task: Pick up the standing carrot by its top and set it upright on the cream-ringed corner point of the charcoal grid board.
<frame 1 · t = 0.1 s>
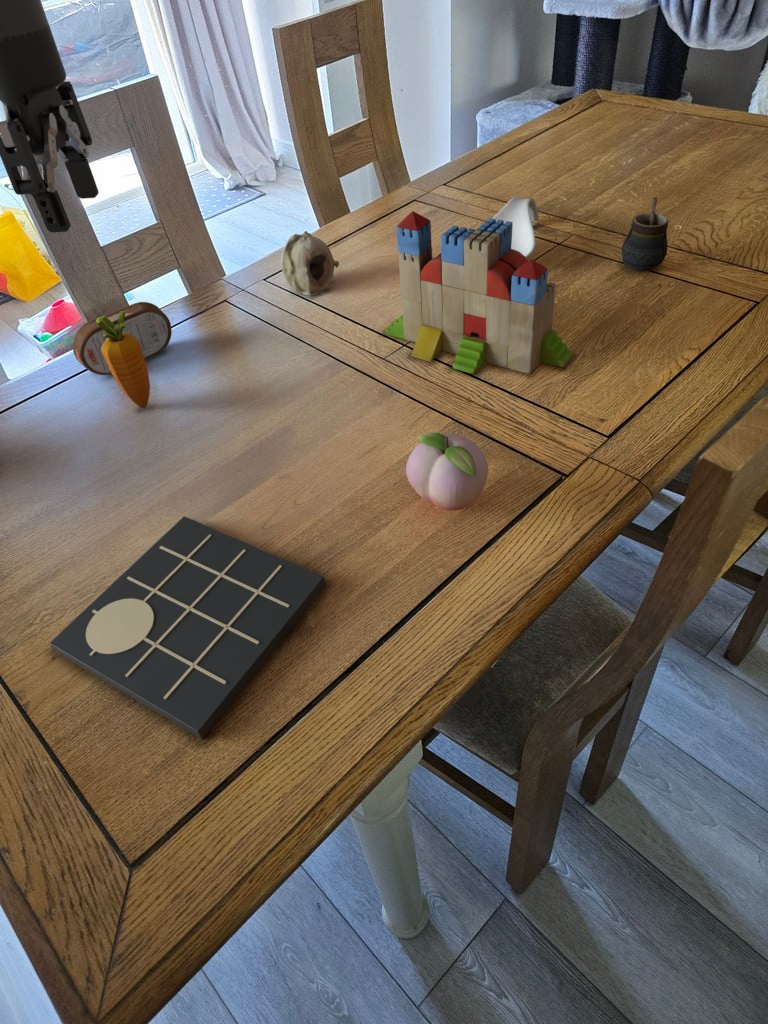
hand: (75, 213, 72), 31 cm above the table, tool pointing down, fingers open, 8 cm apart
block set: (474, 346, 105), on the table
decorative fruit: (449, 503, 82), on the table
grid board: (193, 617, 72), on the table
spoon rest: (508, 252, 126), on the table
carrot: (144, 409, 100), on the table
beige rounded lump: (314, 287, 122), on the table
tin: (133, 363, 109), on the table
mate gourd: (640, 266, 119), on the table
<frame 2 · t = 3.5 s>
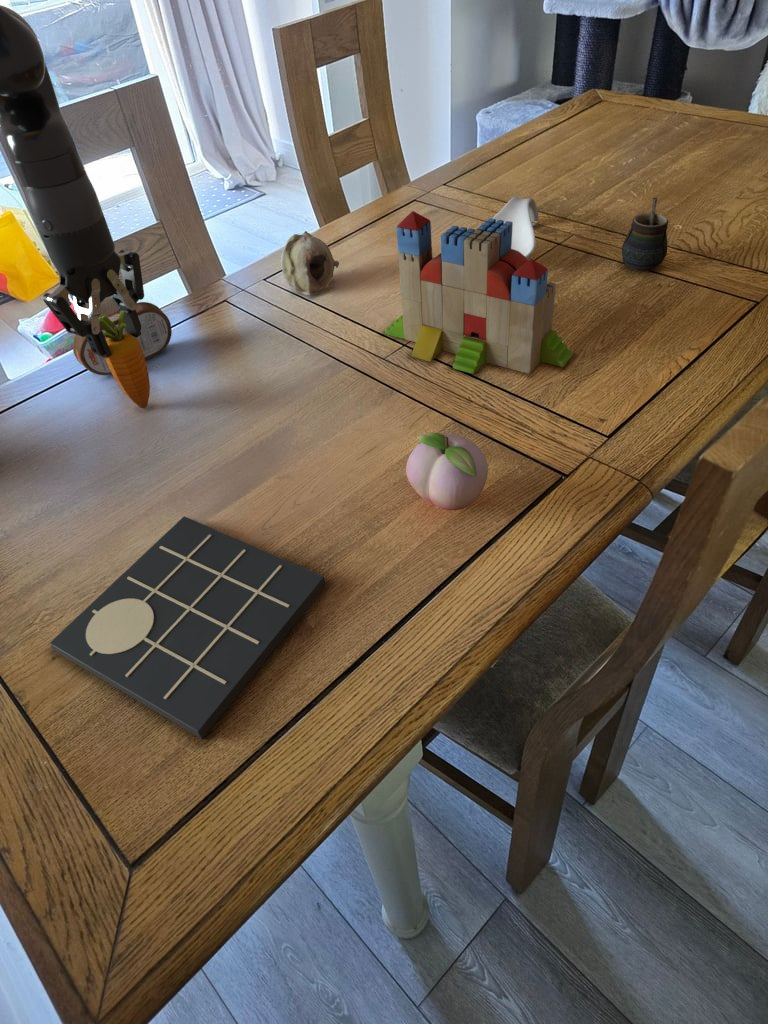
hand: (119, 344, 93), 10 cm above the table, tool pointing down, fingers closed on carrot, 5 cm apart
carrot: (144, 409, 100), on the table, touching gripper
everything else where it was.
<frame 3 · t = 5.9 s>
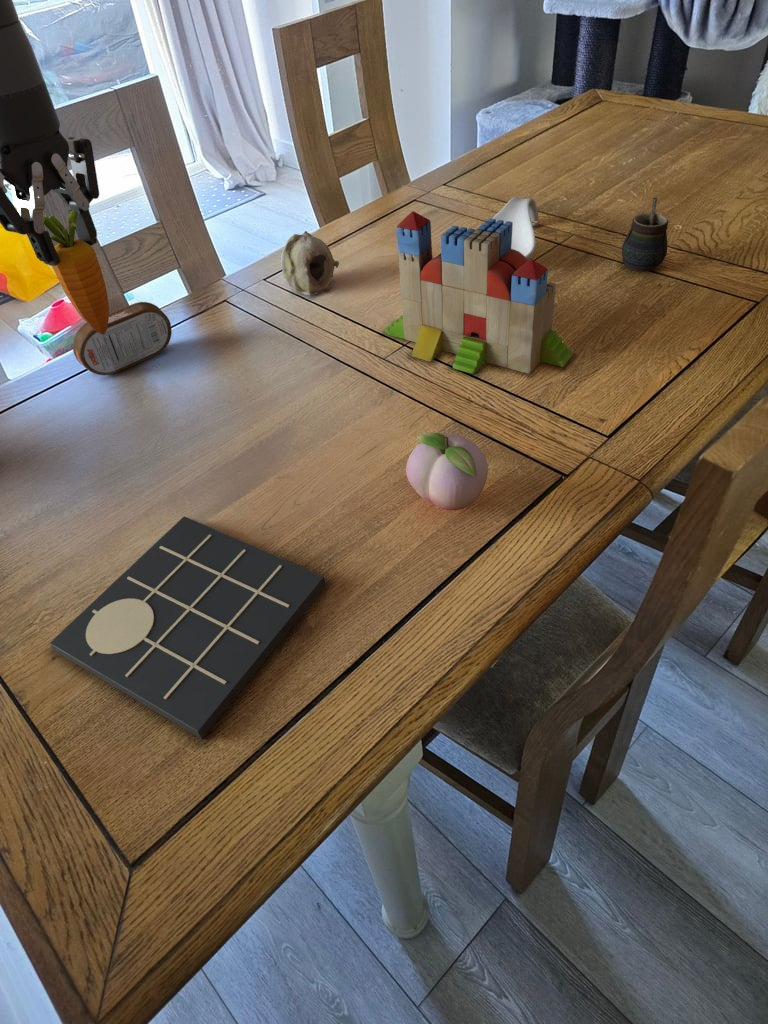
hand: (70, 252, 79), 25 cm above the table, tool pointing down, fingers closed on carrot, 5 cm apart
carrot: (103, 335, 86), point 15 cm above the table, touching gripper
everything else where it was.
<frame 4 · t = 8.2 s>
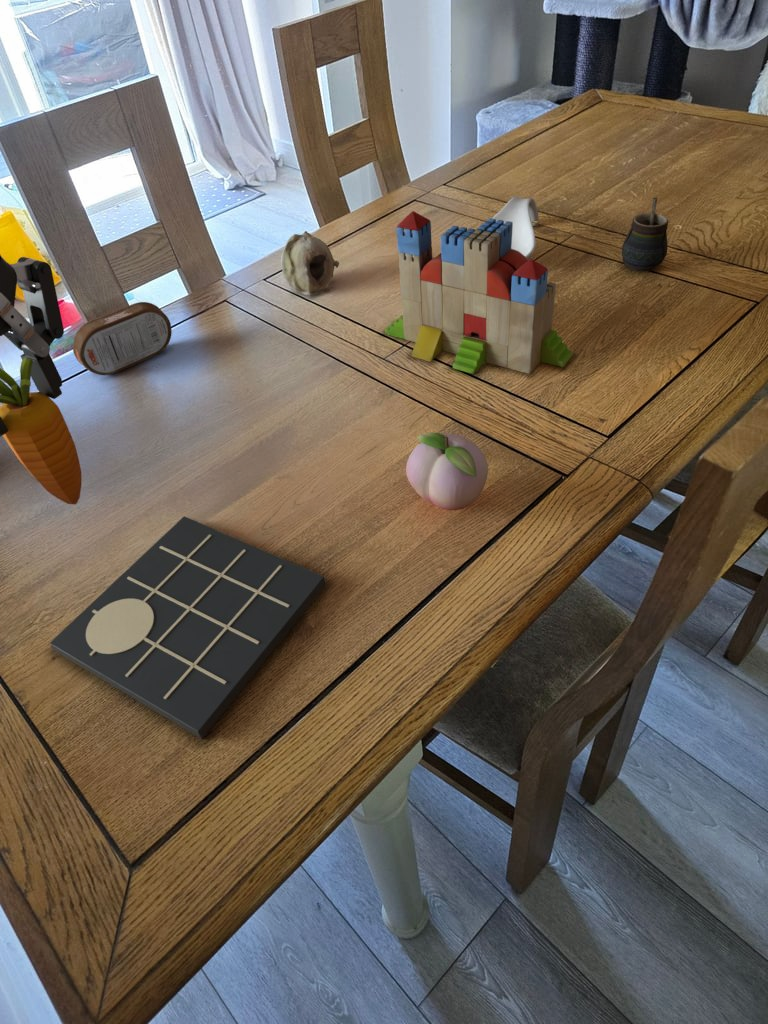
hand: (24, 412, 57), 25 cm above the table, tool pointing down, fingers closed on carrot, 5 cm apart
carrot: (75, 504, 64), point 15 cm above the table, touching gripper
everything else where it was.
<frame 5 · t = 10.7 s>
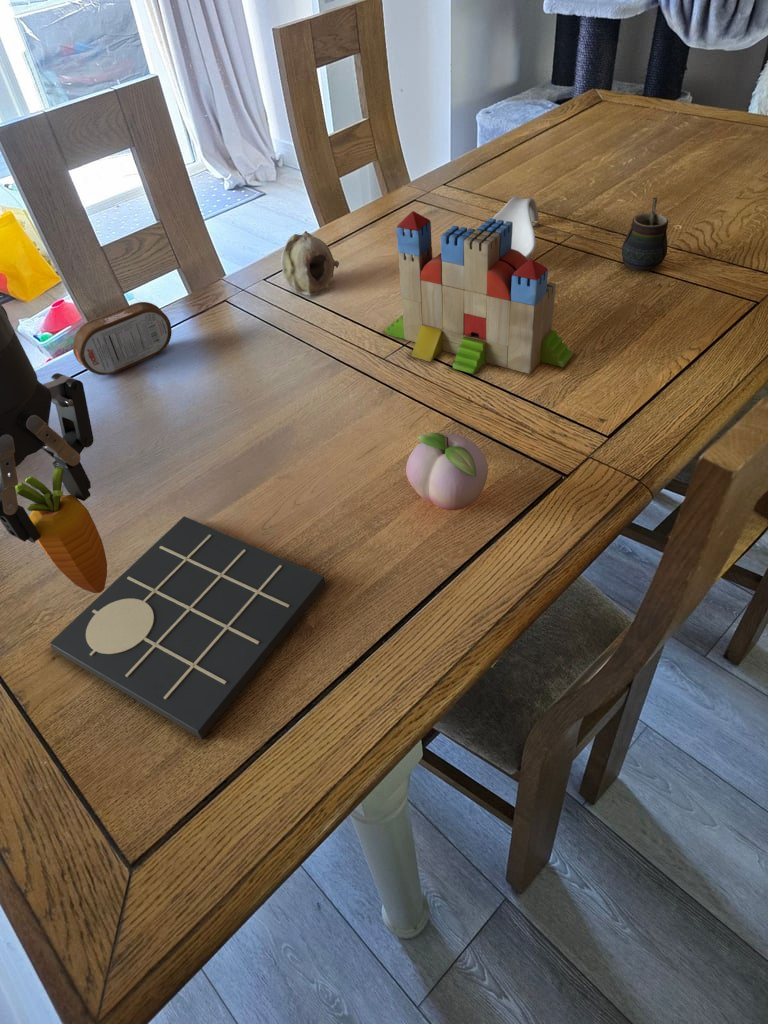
hand: (55, 515, 59), 17 cm above the table, tool pointing down, fingers closed on carrot, 5 cm apart
carrot: (100, 592, 67), point 7 cm above the table, touching gripper
everything else where it was.
when the fingers open (12 cm above the table, at t = 12.7 s): carrot stays where it is, resting on grid board.
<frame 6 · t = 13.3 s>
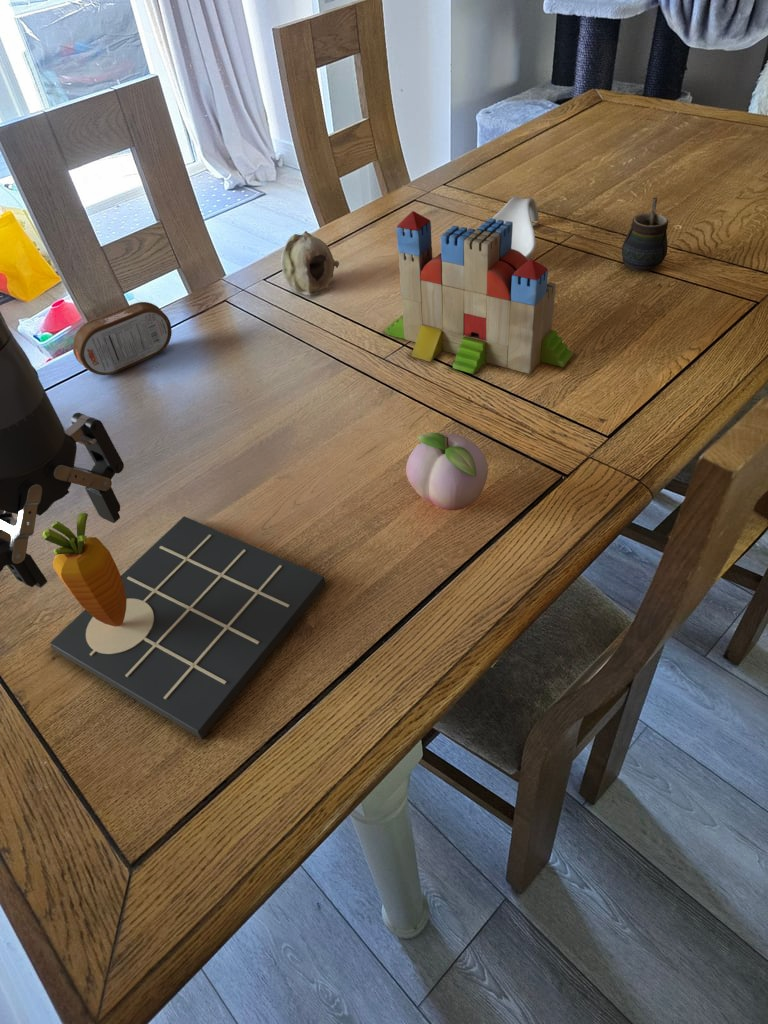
hand: (75, 549, 62), 13 cm above the table, tool pointing down, fingers open, 8 cm apart
carrot: (120, 625, 70), point 1 cm above the table, touching grid board
everything else where it was.
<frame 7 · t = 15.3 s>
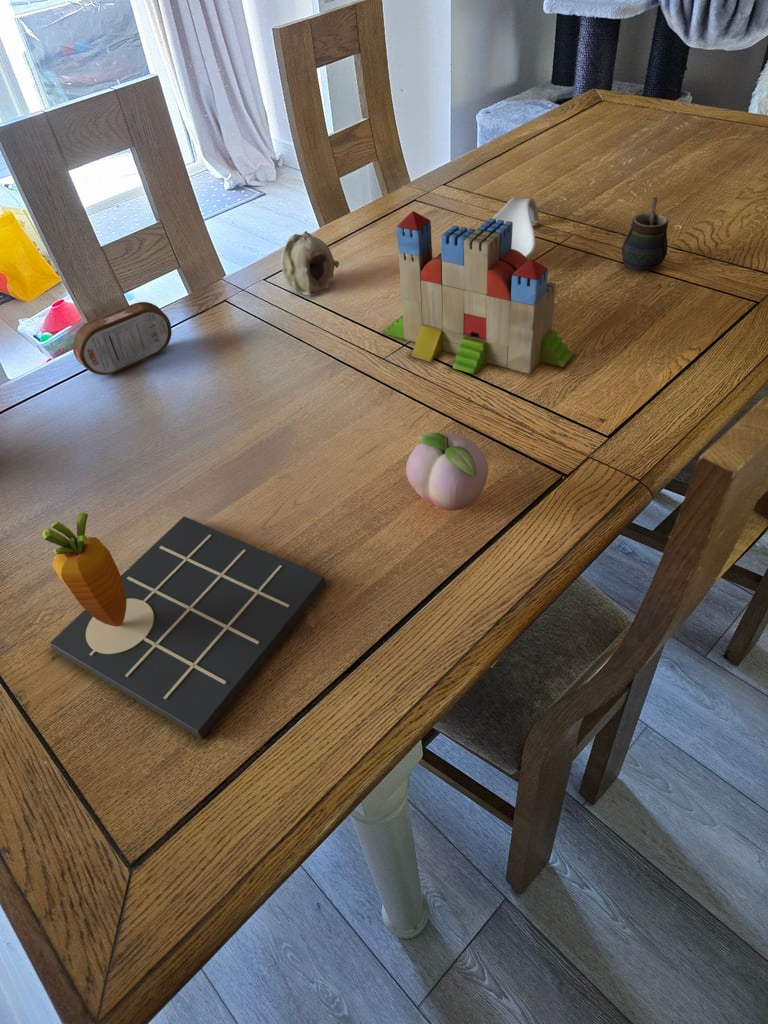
nothing on the table moved.
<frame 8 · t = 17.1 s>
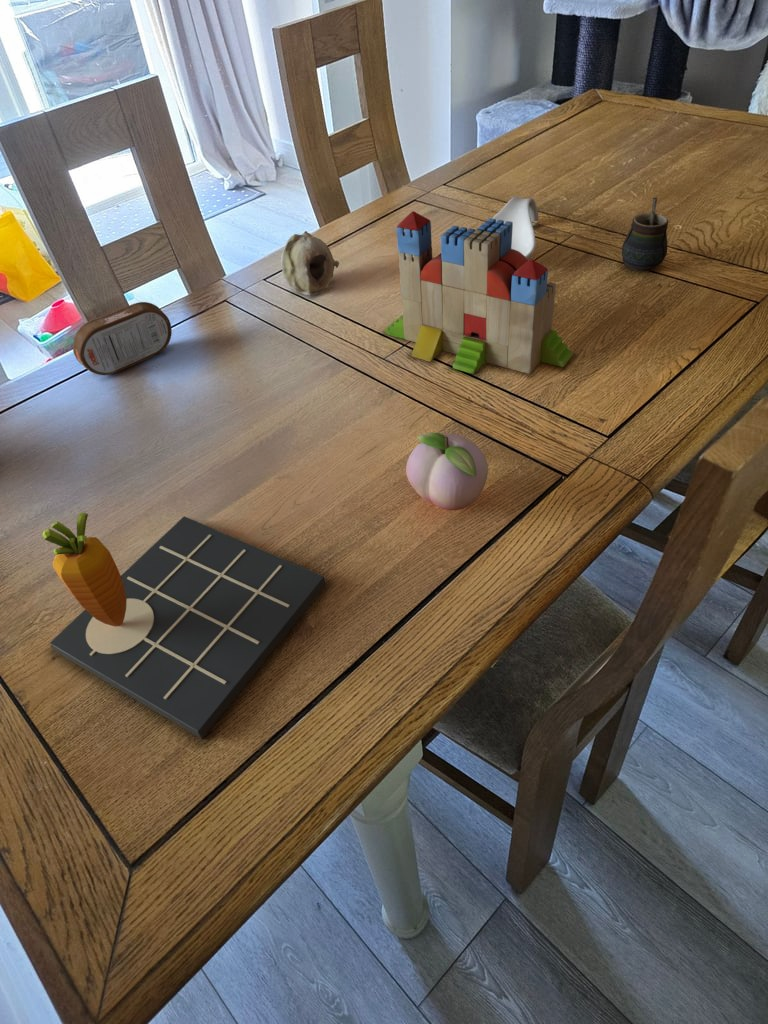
nothing on the table moved.
at the end: carrot 0.1 cm from the target spot on the grid board, point 1.4 cm above the grid board's base; carrot tilted 0°; the gripper is holding nothing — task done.
